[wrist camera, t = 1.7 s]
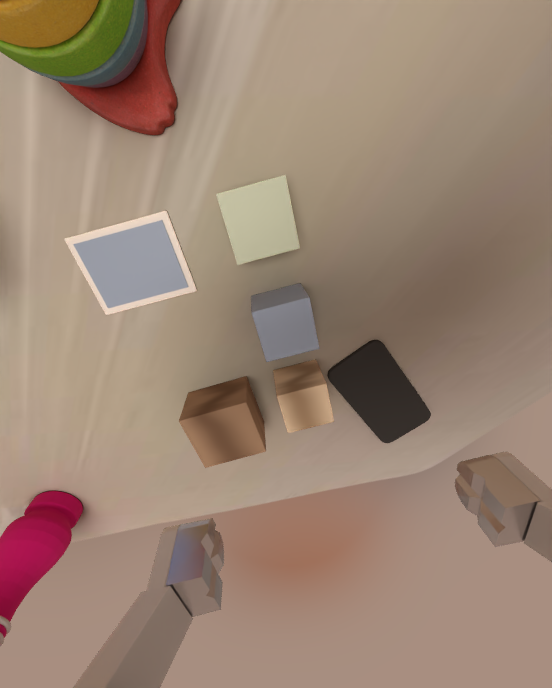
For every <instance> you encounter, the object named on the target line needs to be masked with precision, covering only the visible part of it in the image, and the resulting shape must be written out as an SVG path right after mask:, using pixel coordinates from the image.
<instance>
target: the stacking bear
mask: <svg viewBox="0 0 552 688" xmlns="http://www.w3.org/2000/svg"><path fill="white" fill-rule="evenodd" d="M180 1H181V0H0V52H2V53H3V54H5V55H6V56H8V57H9V58H11V59H12V60H14V61H16V62H18V63H19V64H21V65H22V66H24V67H26V68H28V69H29V70H31V71H33V72H36V73H38V74H40V75H42V76H45V77H48V78H50V79H53V80H56V81H58V82H59V83H60V84H61V85H62V86H63V87H64V88H65V89H66V90H67V91H68V92H69V93H70V94H71V95H73V96H74V97H75V98H76V99H77V100H79V101H80V102H81V103H82V104H84V105H85V106H86V107H88V108H89V109H90V110H92V111H93V112H95V113H96V114H98V115H100V116H101V117H103V118H105V119H106V120H108V121H110V122H112V123H114V124H116V125H119V126H121V127H123V128H126V129H129V130H132V131H135V132H139V133H143V134H149V135H159V134H162V133H163V132H164V129H165V128H166V127H169V126H171V125H172V124H173V122H174V117H175V116H174V111H175V109H176V106H177V98H176V94H175V91H174V88H173V86H172V83H171V81H170V78H169V75H168V71H167V67H166V61H165V50H164V49H165V37H166V32H167V28H168V24H169V22H170V20H171V18H172V16H173V14H174V13H175V11H176V9H177V8H178V6H179V4H180Z"/></svg>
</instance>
